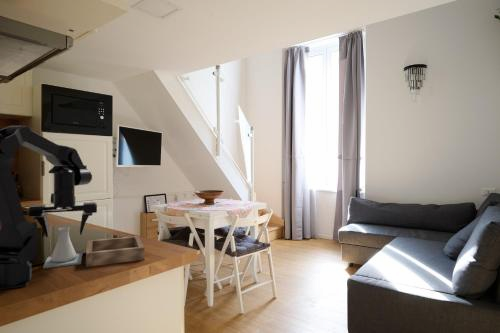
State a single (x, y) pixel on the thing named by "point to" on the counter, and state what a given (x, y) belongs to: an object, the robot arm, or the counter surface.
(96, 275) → the counter surface
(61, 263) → the pale grey flat slab
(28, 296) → the counter surface
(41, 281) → the counter surface
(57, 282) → the counter surface
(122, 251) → the walnut box
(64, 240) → the flask
